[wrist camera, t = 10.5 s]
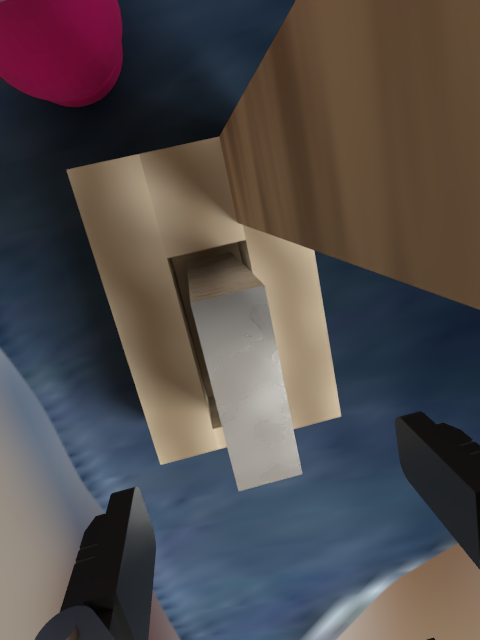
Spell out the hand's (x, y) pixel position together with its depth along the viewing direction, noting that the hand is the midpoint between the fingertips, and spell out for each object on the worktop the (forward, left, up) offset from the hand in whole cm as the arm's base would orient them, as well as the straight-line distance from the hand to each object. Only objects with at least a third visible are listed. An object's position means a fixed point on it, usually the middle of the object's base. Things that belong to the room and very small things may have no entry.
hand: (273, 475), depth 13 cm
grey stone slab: (0, 0, -17) cm, 17 cm away
